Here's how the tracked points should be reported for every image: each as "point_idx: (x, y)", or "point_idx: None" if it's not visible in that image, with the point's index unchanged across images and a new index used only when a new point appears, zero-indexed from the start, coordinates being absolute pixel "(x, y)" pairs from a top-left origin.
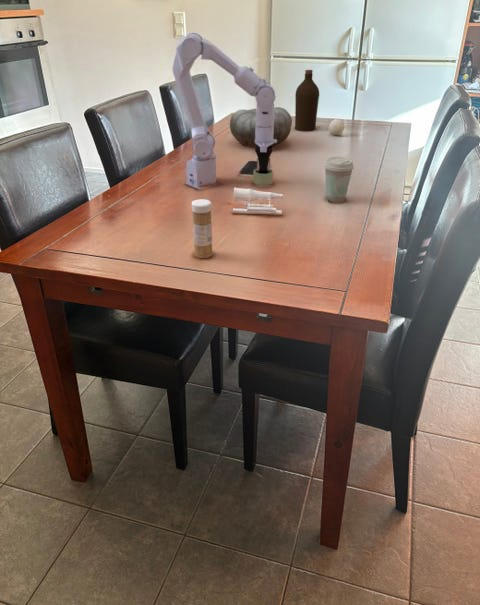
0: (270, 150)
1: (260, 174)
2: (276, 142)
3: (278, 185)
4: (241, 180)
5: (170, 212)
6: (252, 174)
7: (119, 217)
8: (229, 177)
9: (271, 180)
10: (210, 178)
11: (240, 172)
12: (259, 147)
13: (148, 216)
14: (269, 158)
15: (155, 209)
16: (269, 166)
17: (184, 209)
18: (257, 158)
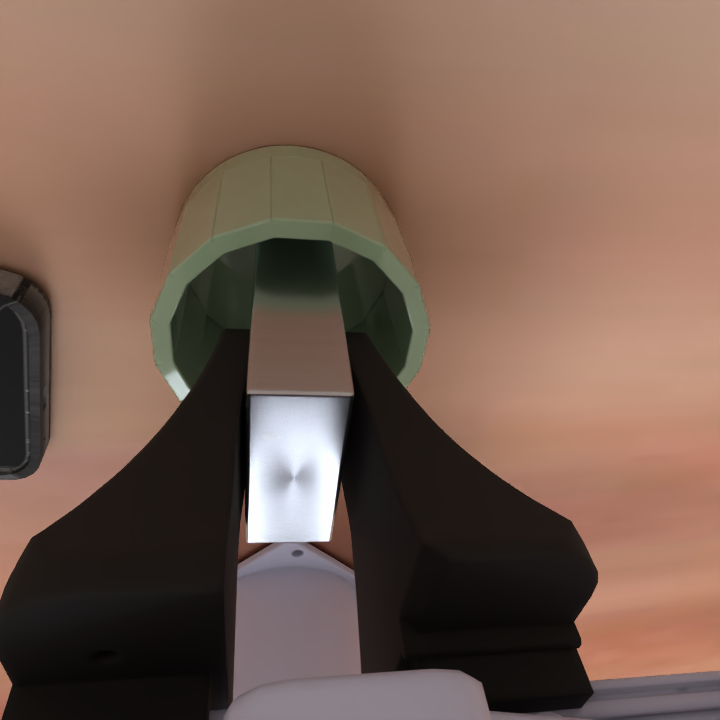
0: (595, 583)
1: (413, 371)
2: (478, 693)
3: (320, 71)
4: None
5: (687, 633)
6: (42, 372)
7: None
8: None
9: (371, 199)
10: (352, 626)
11: (32, 471)
12: (230, 704)
13: (694, 669)
14: (281, 404)
15: (628, 669)
16: (343, 324)
17: (676, 605)
18: (287, 541)
